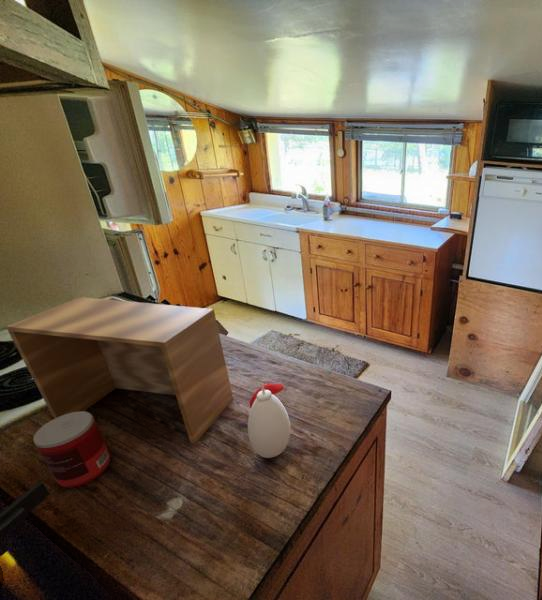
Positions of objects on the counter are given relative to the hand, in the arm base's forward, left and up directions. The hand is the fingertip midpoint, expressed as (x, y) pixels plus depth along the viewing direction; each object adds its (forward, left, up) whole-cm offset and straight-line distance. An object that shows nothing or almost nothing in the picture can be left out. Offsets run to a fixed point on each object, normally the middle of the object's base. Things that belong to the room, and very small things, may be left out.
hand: (5, 482), depth 50 cm
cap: (+27, +30, -9) cm, 41 cm away
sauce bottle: (+34, +18, -9) cm, 39 cm away
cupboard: (+1, +25, -9) cm, 26 cm away
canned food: (+1, +9, -9) cm, 13 cm away
